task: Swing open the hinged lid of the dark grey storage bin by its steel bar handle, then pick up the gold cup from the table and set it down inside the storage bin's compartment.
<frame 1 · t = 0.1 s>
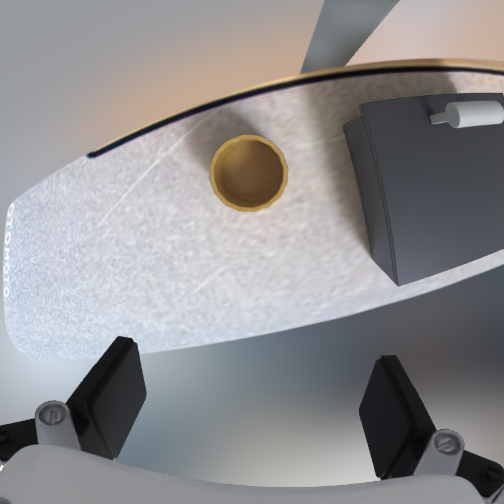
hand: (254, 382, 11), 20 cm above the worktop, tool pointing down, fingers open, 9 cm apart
dark grey storage bin: (426, 178, 26), on the worktop
cup: (252, 171, 28), on the worktop
lid: (476, 182, 18), point 9 cm above the worktop, hinge at 0.0°
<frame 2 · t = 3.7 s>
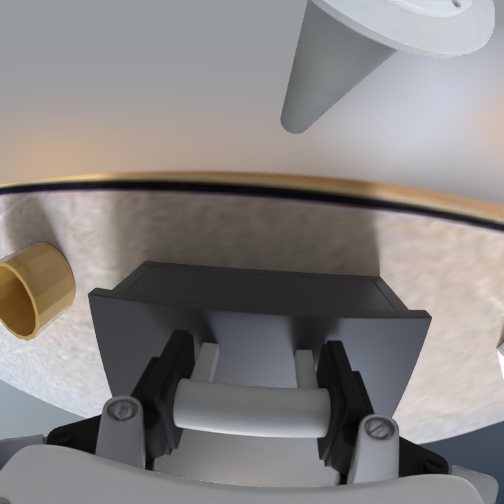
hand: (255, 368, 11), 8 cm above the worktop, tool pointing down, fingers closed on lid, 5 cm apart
dark grey storage bin: (256, 357, 21), on the worktop
cup: (48, 277, 20), on the worktop
lid: (248, 453, 12), point 9 cm above the worktop, hinge at 0.0°, touching gripper
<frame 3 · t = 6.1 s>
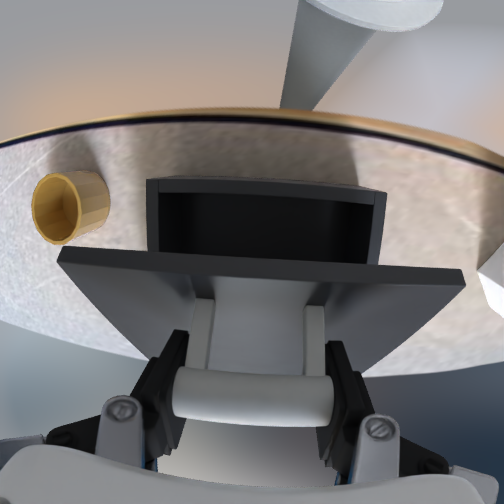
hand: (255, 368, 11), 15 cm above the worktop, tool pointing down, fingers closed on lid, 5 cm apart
dark grey storage bin: (263, 258, 26), on the worktop
cup: (85, 201, 26), on the worktop
lid: (254, 381, 14), point 13 cm above the worktop, hinge at 38.2°, touching gripper
milk: (498, 272, 25), on the worktop
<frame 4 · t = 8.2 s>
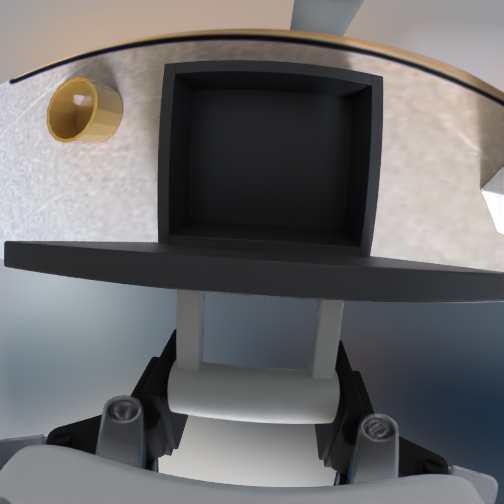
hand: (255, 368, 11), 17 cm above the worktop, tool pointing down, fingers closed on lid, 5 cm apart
dark grey storage bin: (269, 157, 26), on the worktop
cup: (98, 114, 25), on the worktop
lid: (260, 307, 14), point 14 cm above the worktop, hinge at 74.8°, touching gripper
milk: (501, 196, 25), on the worktop
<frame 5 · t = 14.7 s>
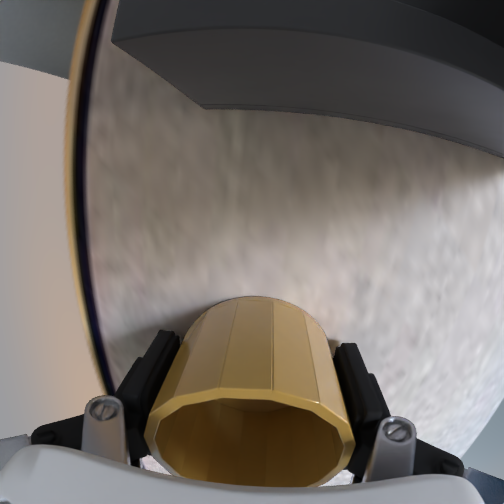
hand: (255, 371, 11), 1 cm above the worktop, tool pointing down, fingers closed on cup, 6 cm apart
cup: (256, 361, 12), on the worktop, touching gripper
when the fingers open (2 cm above the worktop, at t = 24.3 s): cup stays where it is, resting on dark grey storage bin.
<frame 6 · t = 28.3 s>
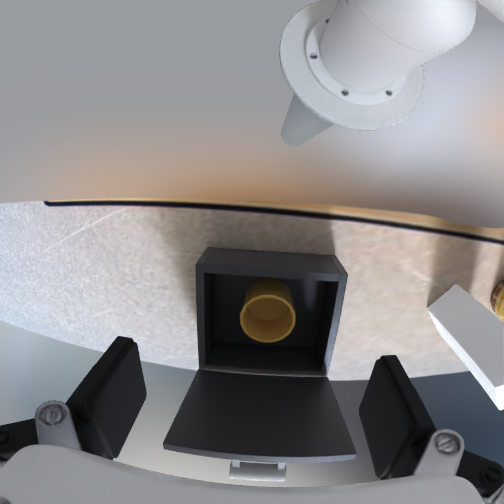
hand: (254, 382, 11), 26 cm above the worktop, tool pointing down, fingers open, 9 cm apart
dark grey storage bin: (268, 302, 38), on the worktop
cup: (268, 300, 37), point 1 cm above the worktop, touching dark grey storage bin
sauce bottle: (500, 295, 36), on the worktop
lid: (260, 427, 27), point 14 cm above the worktop, hinge at 78.0°
milk: (446, 308, 38), on the worktop
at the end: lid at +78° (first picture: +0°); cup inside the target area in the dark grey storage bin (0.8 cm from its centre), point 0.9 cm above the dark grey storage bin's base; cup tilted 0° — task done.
